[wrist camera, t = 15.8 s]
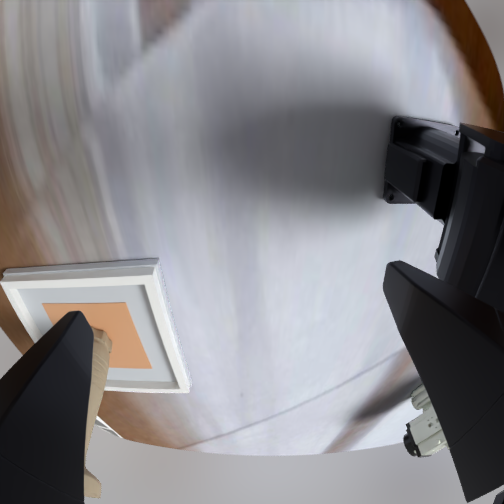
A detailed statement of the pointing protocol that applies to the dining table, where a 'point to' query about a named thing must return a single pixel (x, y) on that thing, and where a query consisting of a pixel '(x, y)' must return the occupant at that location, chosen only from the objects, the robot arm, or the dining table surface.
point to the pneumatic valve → (424, 428)
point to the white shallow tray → (109, 317)
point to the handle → (96, 400)
